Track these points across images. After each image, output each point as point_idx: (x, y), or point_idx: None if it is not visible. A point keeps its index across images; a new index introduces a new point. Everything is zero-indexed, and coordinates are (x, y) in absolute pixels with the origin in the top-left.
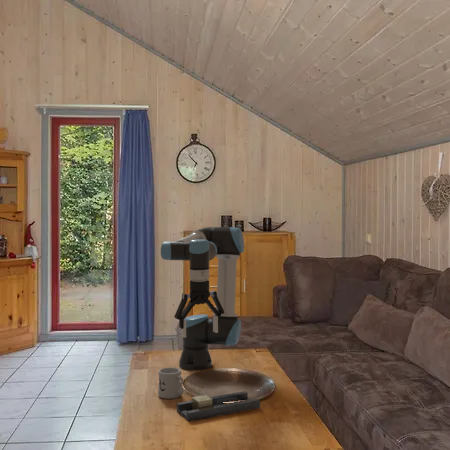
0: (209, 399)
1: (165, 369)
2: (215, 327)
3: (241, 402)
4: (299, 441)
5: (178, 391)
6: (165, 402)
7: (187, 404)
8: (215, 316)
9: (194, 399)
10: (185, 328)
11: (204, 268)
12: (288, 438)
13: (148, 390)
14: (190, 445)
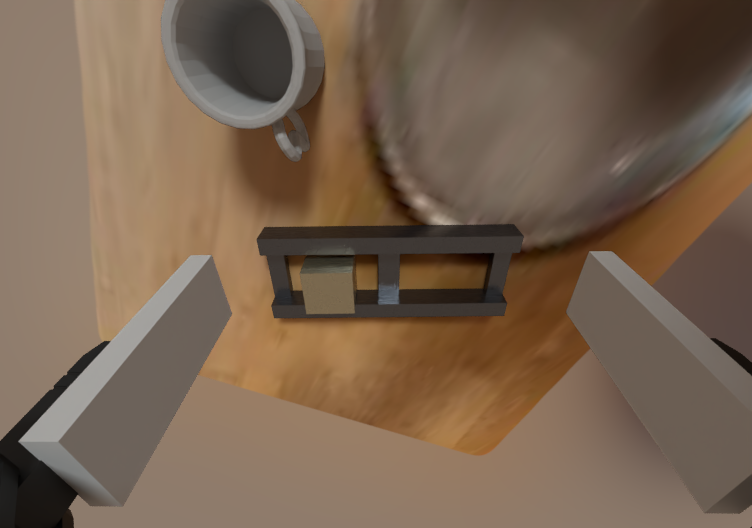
0: (345, 312)
1: None
2: (601, 338)
3: (445, 311)
4: (443, 436)
5: (294, 120)
6: (242, 131)
7: (291, 253)
8: (715, 495)
9: (302, 289)
10: (180, 389)
11: None
12: (435, 424)
13: None
14: (251, 390)
